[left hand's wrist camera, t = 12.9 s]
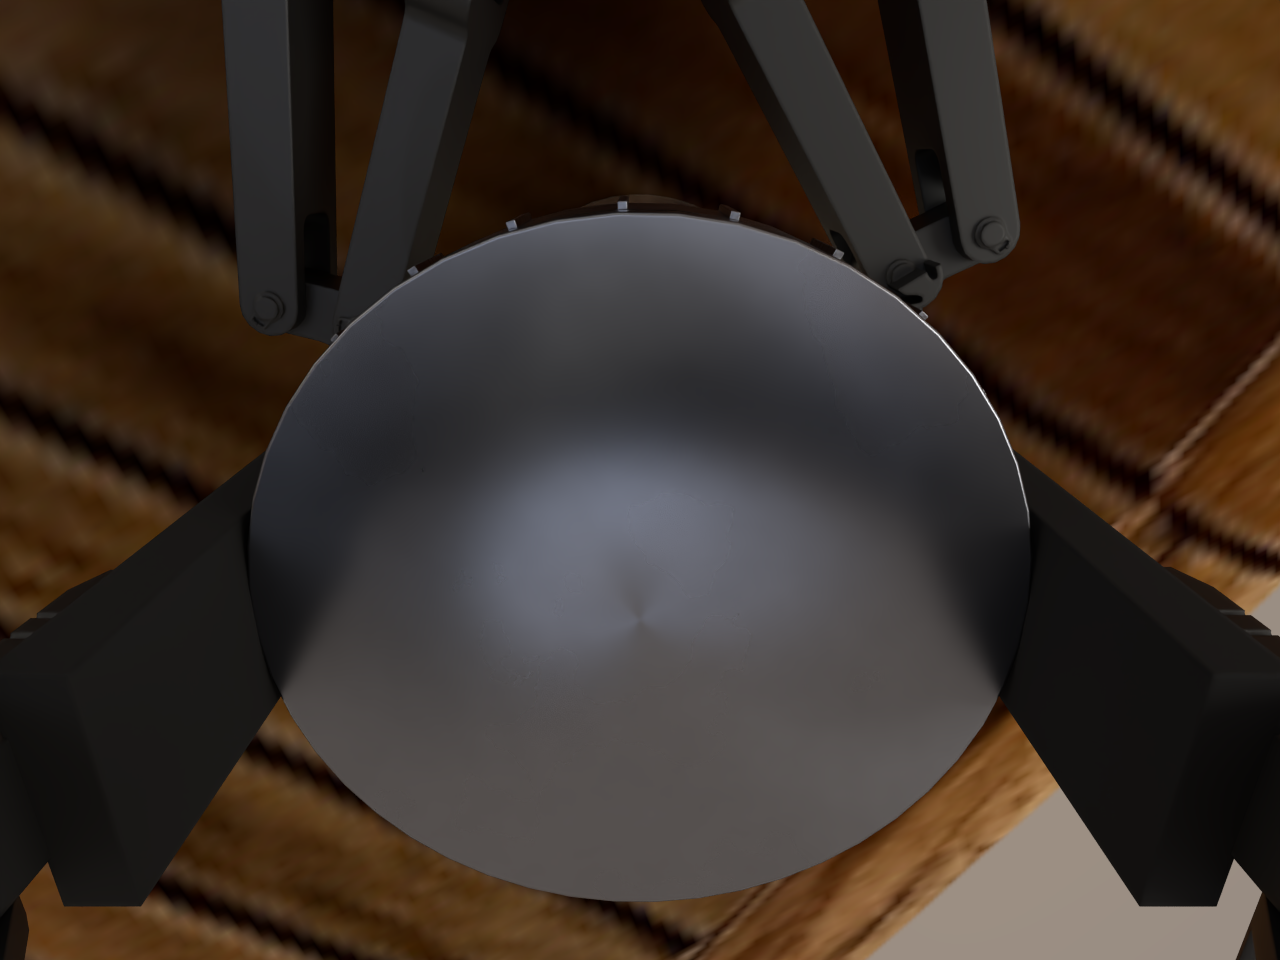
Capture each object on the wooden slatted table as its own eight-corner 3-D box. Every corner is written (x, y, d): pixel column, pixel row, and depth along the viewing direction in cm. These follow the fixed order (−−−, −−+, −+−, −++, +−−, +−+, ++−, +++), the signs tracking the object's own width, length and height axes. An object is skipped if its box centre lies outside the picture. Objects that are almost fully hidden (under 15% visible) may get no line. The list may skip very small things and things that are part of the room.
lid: (324, 112, 10) (254, 102, 8) (1092, 289, 11) (1183, 315, 9) (283, 755, 13) (229, 847, 12) (857, 850, 14) (888, 949, 12)
